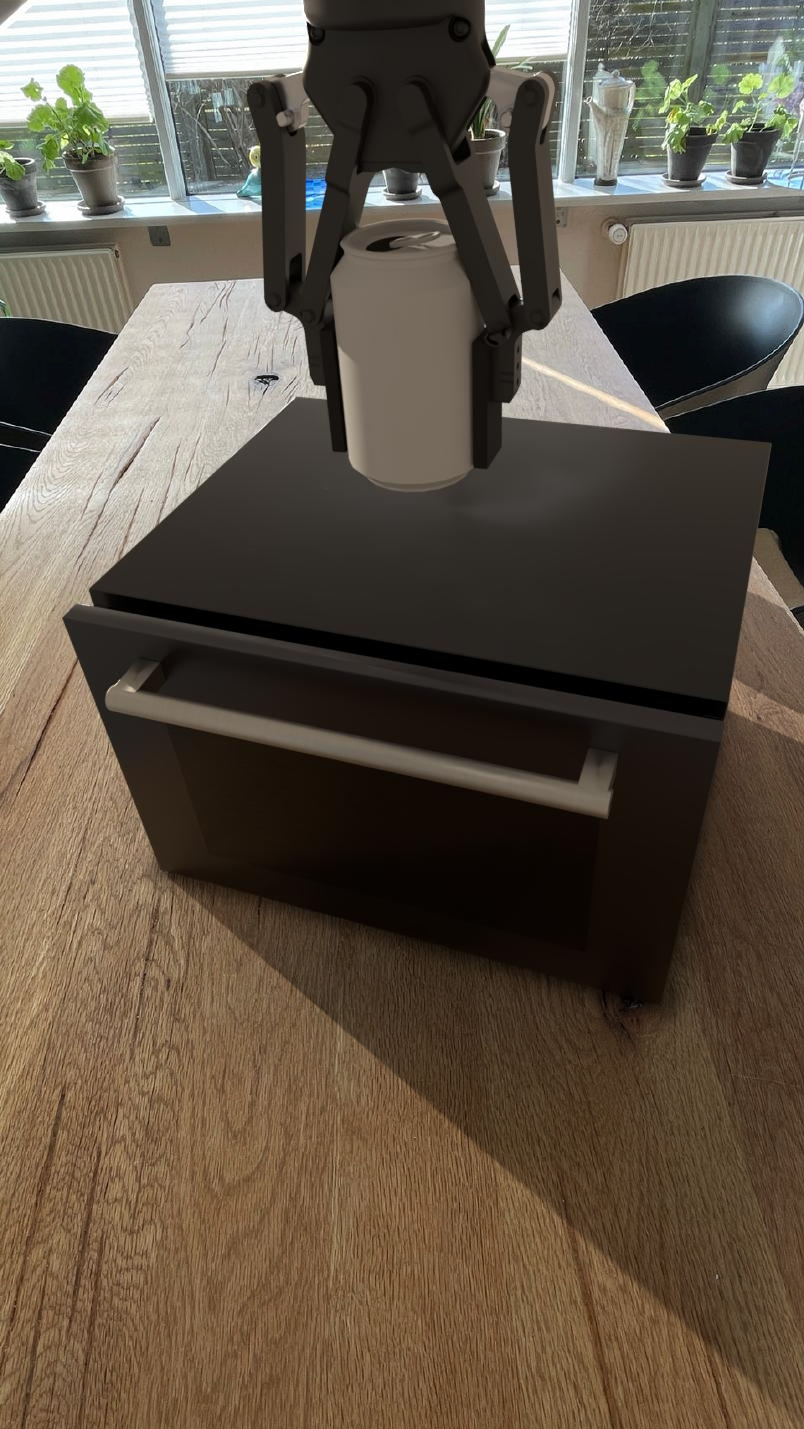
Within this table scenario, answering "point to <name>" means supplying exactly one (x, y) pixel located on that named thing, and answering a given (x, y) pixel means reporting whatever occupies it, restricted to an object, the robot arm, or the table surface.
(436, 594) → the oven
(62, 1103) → the table surface
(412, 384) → the can
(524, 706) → the oven door
